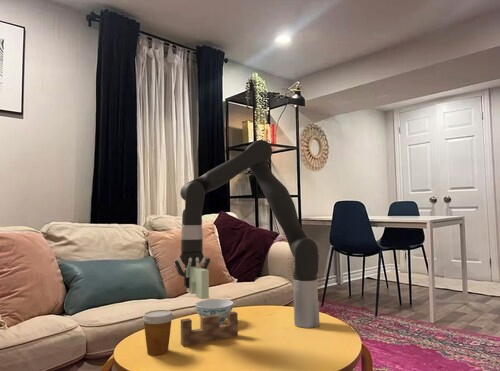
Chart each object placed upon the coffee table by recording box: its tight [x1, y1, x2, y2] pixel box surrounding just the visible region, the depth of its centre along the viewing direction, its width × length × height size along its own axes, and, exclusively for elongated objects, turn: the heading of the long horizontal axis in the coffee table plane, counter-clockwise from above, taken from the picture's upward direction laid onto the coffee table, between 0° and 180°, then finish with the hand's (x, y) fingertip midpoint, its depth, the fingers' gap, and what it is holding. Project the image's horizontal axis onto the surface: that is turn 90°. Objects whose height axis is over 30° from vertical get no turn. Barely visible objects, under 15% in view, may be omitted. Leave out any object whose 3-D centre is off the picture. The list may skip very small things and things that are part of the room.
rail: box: [180, 310, 239, 347], centre depth 127 cm, size 20×2×8 cm, turn 118°
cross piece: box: [186, 266, 210, 300], centre depth 125 cm, size 14×2×9 cm, turn 29°
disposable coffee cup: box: [142, 309, 174, 357], centre depth 117 cm, size 10×10×12 cm
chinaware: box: [195, 298, 234, 325], centre depth 147 cm, size 15×15×8 cm
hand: (191, 287), depth 130 cm, fingers closed on cross piece, 2 cm apart
